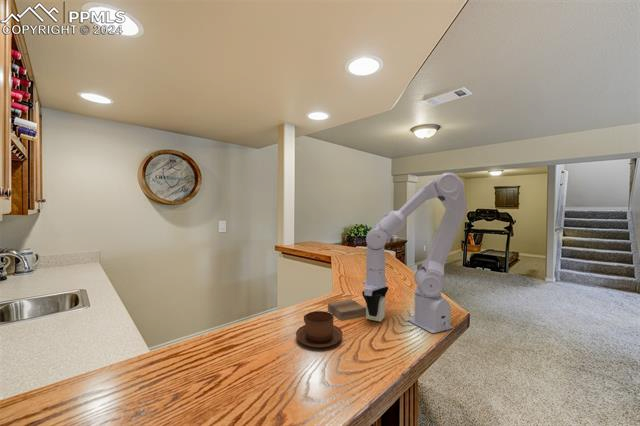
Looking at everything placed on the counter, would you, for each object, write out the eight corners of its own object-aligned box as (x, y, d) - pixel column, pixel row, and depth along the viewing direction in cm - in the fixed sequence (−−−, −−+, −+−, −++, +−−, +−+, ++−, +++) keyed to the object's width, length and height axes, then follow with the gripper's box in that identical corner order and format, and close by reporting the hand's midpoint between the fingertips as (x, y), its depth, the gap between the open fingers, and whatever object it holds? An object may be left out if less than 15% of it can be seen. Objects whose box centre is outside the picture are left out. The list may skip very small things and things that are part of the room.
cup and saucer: (286, 345, 66) (286, 320, 66) (310, 326, 77) (310, 305, 77) (330, 357, 60) (330, 330, 60) (349, 335, 71) (349, 312, 71)
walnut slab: (366, 317, 84) (366, 307, 84) (341, 322, 80) (341, 312, 80) (351, 307, 92) (351, 299, 92) (327, 311, 88) (327, 302, 88)
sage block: (385, 316, 82) (385, 297, 82) (380, 321, 78) (380, 301, 78) (371, 313, 84) (371, 294, 84) (366, 318, 80) (366, 298, 80)
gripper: (370, 263, 89) (370, 303, 89) (354, 271, 77) (354, 318, 77) (391, 265, 86) (391, 307, 86) (378, 274, 73) (378, 323, 73)
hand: (375, 312), depth 81 cm, fingers closed on sage block, 4 cm apart
